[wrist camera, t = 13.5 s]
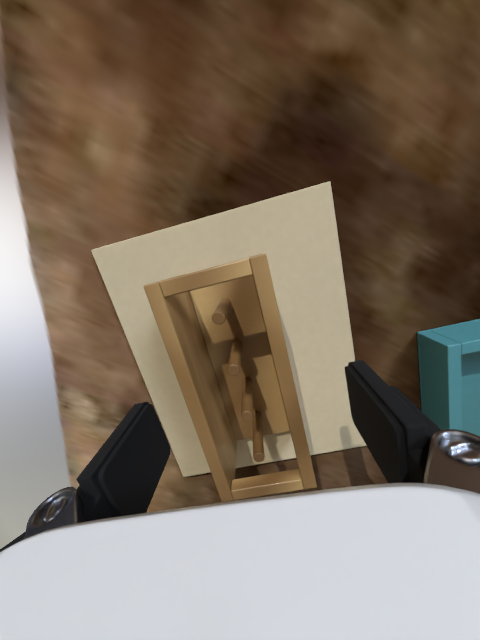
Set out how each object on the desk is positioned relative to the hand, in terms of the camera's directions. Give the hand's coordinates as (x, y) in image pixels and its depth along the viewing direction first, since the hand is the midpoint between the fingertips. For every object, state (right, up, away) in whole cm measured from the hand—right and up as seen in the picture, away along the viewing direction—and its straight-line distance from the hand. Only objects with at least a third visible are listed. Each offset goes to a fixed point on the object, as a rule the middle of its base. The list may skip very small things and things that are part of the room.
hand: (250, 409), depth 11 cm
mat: (0, +2, +7) cm, 7 cm away
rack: (0, +1, +6) cm, 7 cm away
